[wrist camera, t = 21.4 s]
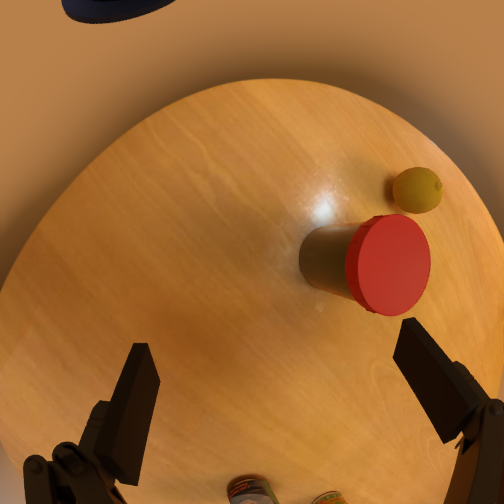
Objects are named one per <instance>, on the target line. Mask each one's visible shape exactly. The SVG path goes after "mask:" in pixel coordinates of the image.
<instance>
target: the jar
mask: <svg viewBox="0 0 504 504" xmlns="http://www.w3.org/2000/svg"><path fill="white" fill-rule="evenodd" d="M363 223H365V222H357V223H348V224H339V225H330V226H323V227H319V228H317V229H315V230H313V231H312V232H311V233H310V234H309V235H308V236H307V237H306V238H305V240H304V241H303V244H302V246H301V249H300V253H299V265H300V269H301V272H302V274H303V276H304V278H305V279H306V281H307V282H308V283H309V284H310V285H312V286H313V287H315V288H317V289H320V290H323V291H326V292H329V293H332V294H335V295H338V296H341V297H344V298H347V299H350V300H353V301H356V300H354V297H353V296H352V294H351V292H350V290H349V287H348V284H347V280H346V273H345V261H346V254H347V250H348V247H349V244H350V241H351V239H352V237H353V236H354V234H355V232H356V231H357V230H358V228H359V227H360V225H362V224H363ZM356 302H357V301H356Z"/></svg>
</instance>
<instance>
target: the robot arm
mask: <svg viewBox="0 0 504 504" xmlns="http://www.w3.org/2000/svg"><path fill="white" fill-rule="evenodd" d="M94 1H101V2H108V1H118V0H94ZM393 359H394V361H395V363H396V364H397V366H398V367H399V369H400V371H401V372H402V374H403V375H404V377H405V379H406V380H407V382H408V384H409V385H410V387H411V389H412V390H413V392H414V394H415V395H416V397H417V399H418V400H419V402H420V404H421V405H422V407H423V409H424V410H425V412H426V414H427V416H428V417H429V419H430V421H431V423H432V424H433V426H434V428H435V430H436V432H437V433H438V435H439V437H440V439H441V441H442V442H443V444H445V443H447V442H449V441H451V440H453V439H455V438H456V437H457V436H458V435H459V433H460V432H461V431H462V433H463V437H462V438H461V439H460V441H459V442H458V443H457V444H456V446H455V448H454V449H457V447H458V446H459V445H460V448H459V452H458V456H457V460H456V464H455V468H454V472H453V475H452V479H451V482H450V485H449V488H448V492H447V495H446V498H445V500H444V503H443V504H504V403H503V402H502V401H501V400H499V399H490V398H489V396H488V395H487V394H486V392H485V391H484V390H483V388H482V387H481V386H480V385H479V383H478V382H477V381H476V379H474V377H473V376H472V374H470V372H469V371H468V369H467V368H466V367H465V366H464V365H463V364H461V363H459V362H458V361H455V362H452V361H451V360H450V359H449V358H448V356H447V355H446V354H445V353H444V351H443V350H442V349H441V348H440V347H439V345H438V344H437V343H436V342H435V341H434V339H433V338H432V337H431V336H430V335H429V333H428V332H427V331H426V330H425V329H424V328H423V326H422V325H421V324H420V323H419V322H418V321H417V320H416V318H415V317H412V318H407V319H403V321H402V325H401V329H400V333H399V337H398V341H397V344H396V348H395V351H394V355H393ZM160 382H161V381H160V378H159V376H158V373H157V370H156V367H155V364H154V361H153V358H152V355H151V352H150V349H149V346H148V343H133V346H132V348H131V351H130V353H129V355H128V358H127V360H126V363H125V365H124V367H123V370H122V372H121V375H120V377H119V380H118V382H117V385H116V387H115V390H114V393H113V395H112V398H111V401H102V400H100V401H99V402H98V403H97V404H96V405H95V406H94V407H93V409H92V412H91V414H90V416H89V417H90V418H89V419H88V421H87V426H86V427H85V429H84V432H83V434H82V437H81V440H80V442H79V445H78V446H77V445H76V444H74V443H73V442H62V443H60V444H59V445H57V446H56V447H55V448H54V450H53V453H52V459H53V461H46V460H45V459H44V458H43V457H42V456H40V455H31V456H29V457H28V458H27V459H26V460H25V462H24V466H23V474H24V488H25V498H26V504H127V503H126V501H125V500H124V498H123V497H122V495H121V494H120V492H119V490H118V489H117V487H116V486H115V485H114V484H115V479H117V480H118V481H119V482H120V483H122V484H127V485H133V486H138V481H139V476H140V471H141V466H142V461H143V456H144V451H145V446H146V442H147V437H148V432H149V428H150V423H151V419H152V415H153V410H154V406H155V402H156V398H157V394H158V390H159V386H160Z"/></svg>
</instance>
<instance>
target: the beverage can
mask: <svg viewBox="0 0 504 504" xmlns="http://www.w3.org/2000/svg"><path fill="white" fill-rule="evenodd" d="M227 496H228V499H229V501H230V504H279V502H278V500H277V498H276V496H275V495H274V493H273V491H272V489H271V487H270V485H269V484H268V482H266V481H264V480H260V479H247V480H244V481H241V482H239V483H237V484H235V485H234V486H233V487H232V488H231V489H230V490H229V491H228V494H227Z"/></svg>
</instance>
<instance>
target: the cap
mask: <svg viewBox="0 0 504 504" xmlns="http://www.w3.org/2000/svg"><path fill="white" fill-rule="evenodd" d="M430 265H431V258H430V250H429V245H428V242H427V239H426V237H425V235H424V233H423V231H422V230H421V228H420V227H419V226H418V224H417V223H416V222H414V221H413V220H412V219H410V218H409V217H406V216H404V215H400V214H392V215H384V216H383V215H380V216H373V218H371V219H369V220H368V221H366V222H365V223H363V224H362V225H360V227H359V228H358V230H357V231H356V232H355V234H354V236H353V237H352V239H351V241H350V244H349V247H348V250H347V254H346V261H345V273H346V280H347V284H348V287H349V290H350V292H351V294H352V296H353V297H354V300H356V301H357V302H358V303H359V304H360V305H361V306H362V307H364V308H365V309H366V310H367V311H370V312H373V313H378V314H381V315H384V316H397V315H400V314H403V313H405V312H406V311H408V310H409V309H411V308H412V307H413V306H414V305H415V304H416V303H417V302H418V300H419V299H420V297H421V296H422V294H423V292H424V290H425V288H426V285H427V282H428V279H429V274H430Z"/></svg>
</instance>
